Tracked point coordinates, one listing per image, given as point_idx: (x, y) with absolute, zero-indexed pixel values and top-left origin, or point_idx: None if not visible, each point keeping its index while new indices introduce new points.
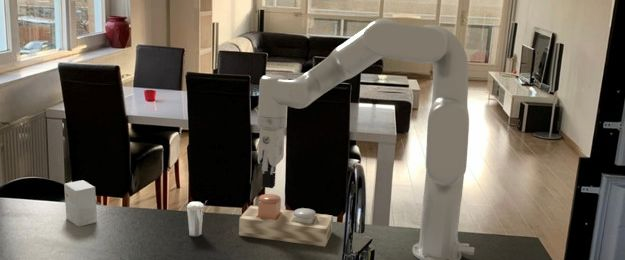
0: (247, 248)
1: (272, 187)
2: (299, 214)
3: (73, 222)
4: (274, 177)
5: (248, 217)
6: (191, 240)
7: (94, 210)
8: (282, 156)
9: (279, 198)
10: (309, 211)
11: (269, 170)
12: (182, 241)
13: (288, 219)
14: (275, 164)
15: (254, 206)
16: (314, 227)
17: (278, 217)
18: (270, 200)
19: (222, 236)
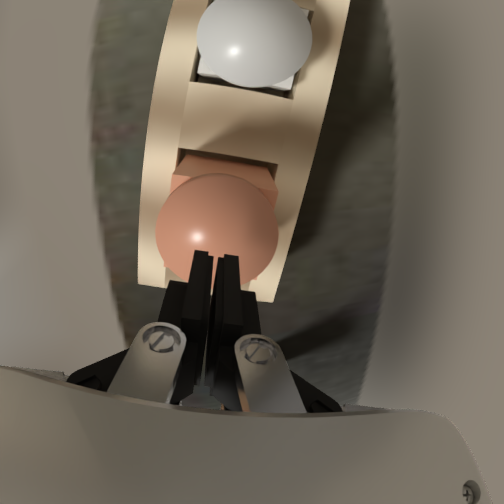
0: (357, 232)
1: (237, 260)
2: (291, 61)
3: None
4: (199, 294)
5: (264, 276)
6: (304, 355)
7: None
8: (21, 416)
9: (222, 182)
10: (240, 13)
11: (321, 397)
12: (309, 366)
13: (267, 112)
14: (447, 423)
15: (142, 269)
16: (347, 10)
17: (217, 159)
18: (264, 230)
19: (277, 304)
